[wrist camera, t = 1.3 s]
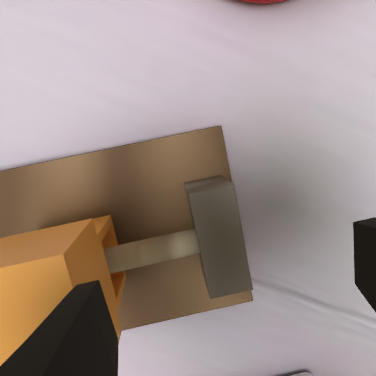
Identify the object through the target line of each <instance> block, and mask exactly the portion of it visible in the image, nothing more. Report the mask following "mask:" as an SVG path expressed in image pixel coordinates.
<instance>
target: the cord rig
mask: <svg viewBox="0 0 376 376" xmlns="http://www.w3.org/2000/svg"><path fill="white" fill-rule="evenodd" d="M107 215H111V218H112V222H113V226H114V230H115V234H116V238H117V241H118V245H117V246H112V247H108V248H103V249H104V253H105V257H106V261H107V265H108V269H109V272H110V273H115V272H119V271H124V270H125V273H126V277H127V278H126V282H125V286H124V290H123V294H122V298H121V302H120V306H119V310H118V316H119V320H120V324H121V328H122V330H126V329H131V328H135V327H140V326H144V325H148V324H153V323H157V322H161V321H166V320H170V319H175V318H179V317H183V316H188V315H192V314H197V313H201V312H205V311H210V310H214V309H218V308H223V307H227V306H232V305H236V304H240V303H245V302H249V301H253V297H252V292H251V290H253V288H252V283H251V277H250V272H249V266H248V261H247V255H246V250H245V244H244V238H243V233H242V227H241V222H240V216H239V211H238V205H237V200H236V194H235V189H234V184H233V183H232V182H231V176H230V171H229V165H228V160H227V154H226V149H225V143H224V138H223V132H222V127H221V126H216V127H211V128H206V129H201V130H197V131H192V132H187V133H182V134H177V135H172V136H168V137H163V138H158V139H153V140H148V141H143V142H139V143H134V144H129V145H124V146H119V147H115V148H110V149H105V150H100V151H95V152H90V153H86V154H81V155H76V156H71V157H66V158H61V159H57V160H52V161H47V162H42V163H37V164H32V165H28V166H23V167H18V168H13V169H8V170H3V171H0V238H3V237H8V236H12V235H17V234H22V233H26V232H31V231H36V230H40V229H45V228H50V227H54V226H59V225H63V224H68V223H73V222H77V221H82V220H87V219H91V218H97V217H102V216H107ZM122 330H121V331H122Z"/></svg>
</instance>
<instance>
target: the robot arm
mask: <svg viewBox="0 0 376 376" xmlns="http://www.w3.org/2000/svg"><path fill="white" fill-rule="evenodd" d="M353 228H354V269H355V284H356V286H357V287H358V289H359V290H360V291H361V293H362V294H363V296H364V297H365V299H366V300H367V301H368V303H369V304H370V305H371V306H372V308H373V309H374V310H375V312H376V218H370V219H366V220H361V221H357V222H353ZM0 376H118V337H117V334H116V331H115V328H114V325H113V321H112V318H111V315H110V312H109V309H108V306H107V303H106V300H105V297H104V294H103V291H102V288H101V284H100V281H99V280H96V281H91V282H87V283H82V284H78V285H76V286H75V287H74V288H73V289H72V290H71V291H70V292H69V293H68V294H67V295H66V296H65V297H64V298H63V299H62V301H61V302H60V303H59V304H58V305H57V306H56V307H55V308H54V310H53V311H52V312H51V313H50V314H49V315H48V316H47V317H46V318H45V320H44V321H43V322H42V323H41V324H40V325H39V326H38V327H37V328H36V329H35V331H34V332H33V333H32V334H31V335H30V336H29V337H28V338H27V339H26V340H25V341H24V342H23V343H22V344H21V346H20V347H19V348H18V349H17V350H16V351H15V352H14V353H13V354H12V355H11V356H10V357H9V358H8V359H7V360H6V361H5V362H4V363H3V364H2V365H1V366H0ZM290 376H312V374H311V373H309V372H303V373H299V374H295V375H290Z"/></svg>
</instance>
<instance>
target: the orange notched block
mask: <svg viewBox="0 0 376 376" xmlns="http://www.w3.org/2000/svg"><path fill="white" fill-rule="evenodd" d="M117 245H118V241H117V238H116V234H115V230H114V226H113V222H112V218H111V215H107V216H102V217H97V218H91V219H87V220H82V221H77V222H73V223H68V224H63V225H59V226H54V227H50V228H45V229H40V230H36V231H31V232H26V233H22V234H17V235H12V236H8V237H3V238H0V366H1V365H2V364H3V363H4V362H5V361H6V360H7V359H8V358H9V357H10V356H11V355H12V354H13V353H14V352H15V351H16V350H17V349H18V348H19V347H20V346H21V344H22V343H23V342H24V341H25V340H26V339H27V338H28V337H29V336H30V335H31V334H32V333H33V332H34V331H35V329H36V328H37V327H38V326H39V325H40V324H41V323H42V322H43V321H44V320H45V318H46V317H47V316H48V315H49V314H50V313H51V312H52V311H53V310H54V308H55V307H56V306H57V305H58V304H59V303H60V302H61V301H62V299H63V298H64V297H65V296H66V295H67V294H68V293H69V292H70V291H71V290H72V289H73V288H74V287H75V286H76V285H78V284H82V283H87V282H91V281H96V280H99V281H100V284H101V288H102V291H103V294H104V297H105V300H106V303H107V306H108V309H109V312H110V315H111V318H112V321H113V325H114V328H115V331H116V334H117V337H118V344H119V339H120V335H121V330H122V328H121V324H120V320H119V316H118V310H119V306H120V302H121V298H122V294H123V290H124V286H125V282H126V278H127V277H126V273H125V270H124V271H119V272H115V273H110V272H109V269H108V265H107V261H106V257H105V253H104V249H103V248H108V247H112V246H117Z"/></svg>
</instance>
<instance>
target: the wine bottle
mask: <svg viewBox="0 0 376 376" xmlns="http://www.w3.org/2000/svg"><path fill="white" fill-rule="evenodd" d="M241 1H245V2H250V3H260V4H266V3H276V2H282V1H286V0H241Z"/></svg>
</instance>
